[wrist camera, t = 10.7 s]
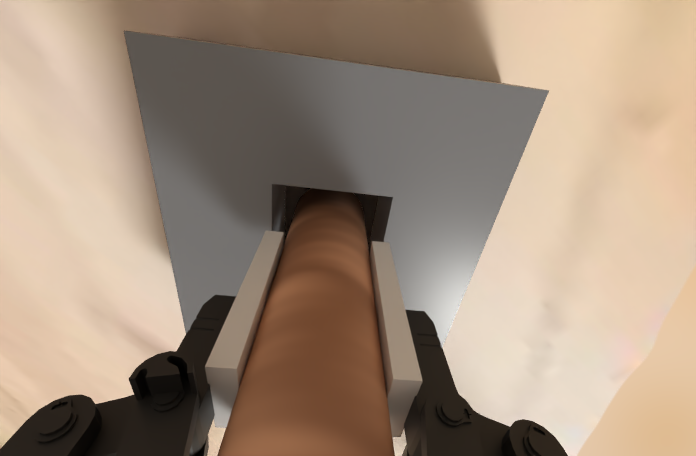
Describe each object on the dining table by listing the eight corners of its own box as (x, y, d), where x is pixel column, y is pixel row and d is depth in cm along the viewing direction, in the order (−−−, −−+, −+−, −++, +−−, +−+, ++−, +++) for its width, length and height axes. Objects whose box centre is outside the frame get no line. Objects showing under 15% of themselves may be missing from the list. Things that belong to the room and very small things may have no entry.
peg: (294, 241, 18) (142, 807, 5) (296, 180, 16) (42, 846, 3) (358, 247, 19) (402, 798, 5) (368, 188, 17) (489, 829, 3)
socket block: (211, 293, 22) (186, 338, 18) (177, 37, 14) (123, 30, 11) (424, 311, 23) (438, 356, 20) (502, 83, 15) (549, 90, 12)
